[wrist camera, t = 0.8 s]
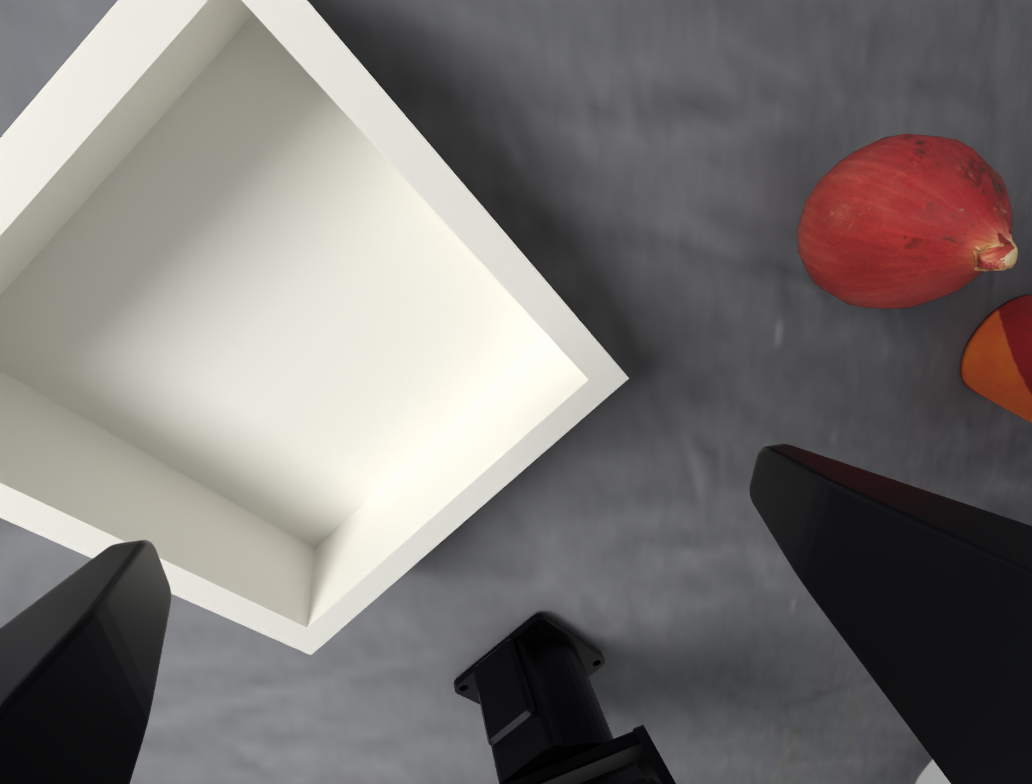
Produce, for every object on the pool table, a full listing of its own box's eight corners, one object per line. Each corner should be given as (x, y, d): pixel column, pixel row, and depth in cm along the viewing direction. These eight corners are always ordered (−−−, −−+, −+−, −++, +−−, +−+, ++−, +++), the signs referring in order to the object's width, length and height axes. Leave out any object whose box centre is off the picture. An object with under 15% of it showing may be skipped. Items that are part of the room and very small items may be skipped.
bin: (575, 325, 22) (629, 378, 18) (318, 556, 24) (311, 655, 20) (254, -47, 15) (212, -112, 10) (-81, 333, 16) (-235, 413, 12)
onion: (815, 100, 20) (1050, 97, 13) (902, 174, 23) (1138, 202, 16) (726, 244, 22) (893, 306, 15) (816, 298, 24) (995, 372, 18)
